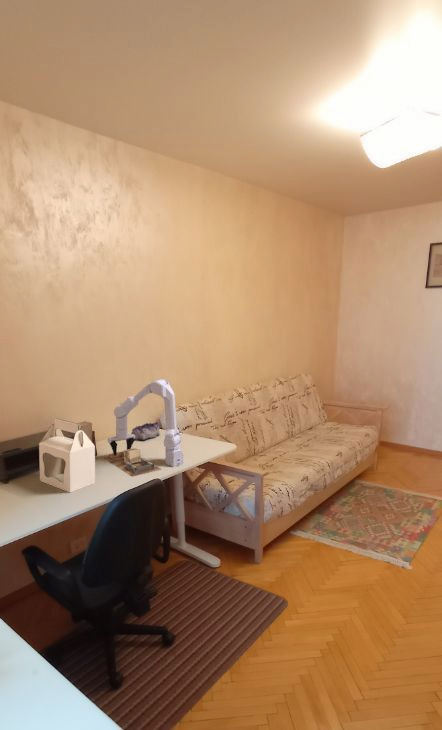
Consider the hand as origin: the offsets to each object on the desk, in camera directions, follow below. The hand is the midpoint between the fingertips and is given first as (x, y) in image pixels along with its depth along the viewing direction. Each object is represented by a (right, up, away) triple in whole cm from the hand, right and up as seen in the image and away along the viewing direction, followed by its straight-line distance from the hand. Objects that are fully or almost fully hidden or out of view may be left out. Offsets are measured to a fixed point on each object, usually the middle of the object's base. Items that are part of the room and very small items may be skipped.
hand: (121, 453), depth 218 cm
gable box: (-17, -6, -31) cm, 36 cm away
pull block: (+4, -3, -4) cm, 6 cm away
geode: (+5, +1, +42) cm, 42 cm away
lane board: (+7, -4, -9) cm, 12 cm away
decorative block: (-20, -3, -6) cm, 21 cm away
